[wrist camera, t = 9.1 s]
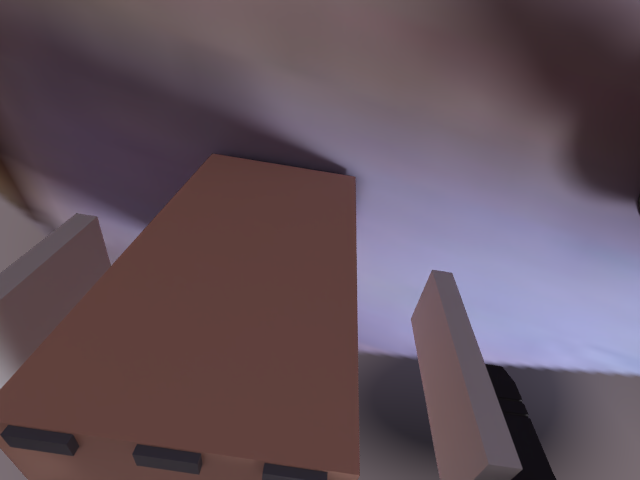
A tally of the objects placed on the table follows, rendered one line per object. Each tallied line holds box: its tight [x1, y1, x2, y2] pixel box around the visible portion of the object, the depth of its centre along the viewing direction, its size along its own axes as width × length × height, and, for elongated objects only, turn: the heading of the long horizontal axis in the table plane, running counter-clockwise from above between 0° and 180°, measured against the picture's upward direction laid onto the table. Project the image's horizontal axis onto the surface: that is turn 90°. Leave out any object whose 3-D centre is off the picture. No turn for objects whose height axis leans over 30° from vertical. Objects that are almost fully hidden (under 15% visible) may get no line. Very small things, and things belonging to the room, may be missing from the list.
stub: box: [0, 154, 360, 480], centre depth 11 cm, size 6×6×11 cm
